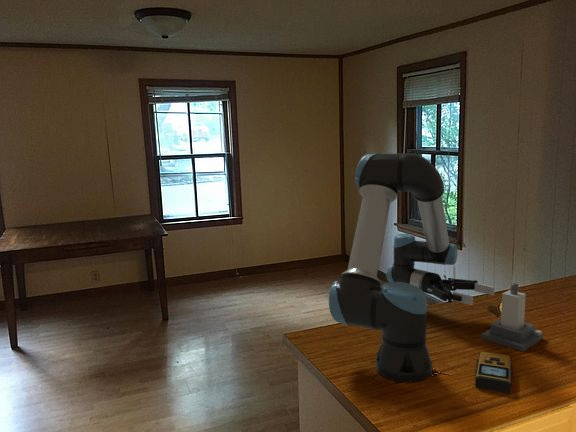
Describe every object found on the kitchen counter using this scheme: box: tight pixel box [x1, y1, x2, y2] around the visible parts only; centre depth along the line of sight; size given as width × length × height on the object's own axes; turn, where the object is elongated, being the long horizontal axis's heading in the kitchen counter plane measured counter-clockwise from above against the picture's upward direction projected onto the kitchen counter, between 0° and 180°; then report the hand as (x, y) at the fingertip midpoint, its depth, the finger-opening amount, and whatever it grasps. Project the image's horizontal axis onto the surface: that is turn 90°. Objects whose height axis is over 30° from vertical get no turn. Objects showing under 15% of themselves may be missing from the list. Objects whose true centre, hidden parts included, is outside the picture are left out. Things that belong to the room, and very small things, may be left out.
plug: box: [500, 282, 527, 330], centre depth 148 cm, size 4×5×16 cm
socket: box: [480, 318, 544, 352], centre depth 150 cm, size 13×13×4 cm
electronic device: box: [474, 351, 513, 394], centre depth 128 cm, size 9×16×4 cm, turn 155°
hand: (483, 296), depth 155 cm, fingers open, 13 cm apart
